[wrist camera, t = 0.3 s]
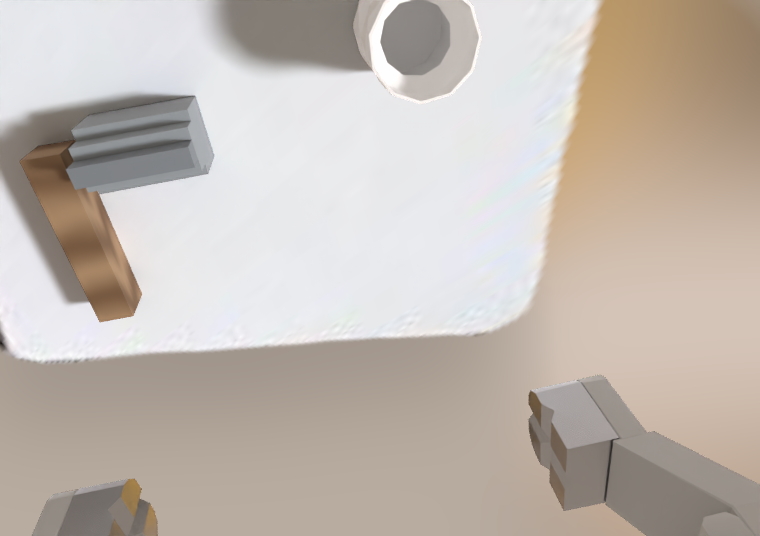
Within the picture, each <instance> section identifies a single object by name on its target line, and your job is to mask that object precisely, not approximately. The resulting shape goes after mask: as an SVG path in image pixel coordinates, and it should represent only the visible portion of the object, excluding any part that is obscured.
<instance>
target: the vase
mask: <svg viewBox="0 0 760 536" xmlns="http://www.w3.org/2000/svg"><path fill="white" fill-rule="evenodd" d="M353 30H354V34H355V37H356V41H357V45H358V49H359V52H360V54H361V56H362V57H363V59H364V60H365V61H366V63H367V64H368V66H369V67H370V68H371V69H372V70H373V71H374V73H375V74H376V76H377V78H378V80H379V81H380V82H381V84H382V85H383V86H384V87H385V88H386V89H387V90H388V91H389V92H390V93H391V94H392V95H393V96H396V97H399V98H402V99H406V100H409V101H412V102H415V103H418V104H424V103H428V102H431V101H434V100H438V99H441V98H444V97H448V96H451V95H452V94H453V93H454V92H455V91H456V90H457V89H458V88H459V86H460V85H461V84H462V83H463V82H464V81H465V80H466V79H467V78H468V77H469V75H470V74H471V73H472V72H473V71H474V68H475V64H476V60H477V55H478V51H479V47H480V43H481V39H482V35H481V32H480V28H479V25H478V21H477V18H476V15H475V11H474V8H473V4H472V3H471V2H469V1H468V0H359V4H358V7H357V11H356V15H355V18H354V22H353Z"/></svg>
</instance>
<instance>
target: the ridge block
mask: <svg viewBox="0 0 760 536" xmlns="http://www.w3.org/2000/svg"><path fill="white" fill-rule="evenodd" d="M71 132H72V134H73V136H74V138H75V141H76V142H75V143H74V144H73V145H72V146H71V147H70V148H69V149H68V150H69V152H70V154H71V156H72V158H73V161H74V162H73V163H72V164H71V165H70V166H69V167H68V168H67V169H66V171H67V173H68V175H69V178H70V180H71V182H72V184H73V186H74V188H75V190H77V189H82V188H86V189H87V191H88V193H89V192H94V191H98V192H99V194H103V193H109V192H114V191H119V190H125V189H130V188H135V187H141V186H146V185H151V184H157V183H162V182H167V181H173V180H178V179H183V178H189V177H194V176H199V175H205V174H208V173H209V170H210V167H211V164H212V161H213V158H214V154H213V150H212V147H211V144H210V141H209V138H208V135H207V131H206V128H205V125H204V122H203V119H202V116H201V112H200V109H199V106H198V103H197V100H196V96H192V97H187V98H181V99H175V100H170V101H164V102H159V103H153V104H148V105H142V106H136V107H131V108H125V109H120V110H114V111H108V112H103V113H97V114H92V115H88V116H87V117H86V118H85V119H84V120H82V121H81V122H80V123H79V124H78V125H77V126H75V127H74V128H73V129H72V130H71Z"/></svg>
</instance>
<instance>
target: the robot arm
mask: <svg viewBox="0 0 760 536" xmlns="http://www.w3.org/2000/svg"><path fill="white" fill-rule="evenodd" d="M529 406H530V408H531V410H532V412H533V414H532V416H531V417H530V418H529V433H530V438H531V442H532V445H533V448H534V451H535V454H536V456H537V458H538V460H539V462H540V464H541V465H543V466H544V467H546V468H548V469H549V470H550V484H551V486H552V488H553V490H554V492H555V494H556V496H557V498H558V500H559V502H560V504H561V506H562V508H563V510H564V511H566V510H571V509H575V508H581V507H585V506H590V505H595V504H600V503H605V502H606V505H607V506H608V507H609V508H611V509H612V510H613V511H615V512H616V513H617V514H618V515H620V516H621V517H623V518H624V519H625V520H626V521H628V522H629V523H630V524H632V525H633V526H634V527H636V528H637V529H638V530H639V531H641V532H642V533H643V534H645V535H646V536H760V484H758V483H756V482H754V481H752V480H750V479H748V478H746V477H744V476H742V475H740V474H738V473H736V472H734V471H732V470H730V469H728V468H726V467H724V466H722V465H720V464H718V463H716V462H714V461H712V460H710V459H708V458H706V457H704V456H702V455H700V454H698V453H696V452H694V451H693V450H690V449H689V448H687V447H684V446H683V445H681V444H678V443H676V442H675V441H673V440H670V439H669V438H667V437H664V436H663V435H661V434H659V433H657V432H655V431H653V432H648V433H647V432H646V430H645V429H644V428H643V427H642V425H641V424H640V423H639V421H638V420H637V419H636V418H635V416H634V415H633V413H632V412H631V411H630V409H629V408H628V407H627V406H626V404H625V403H624V402H623V400H622V399H621V398H620V396H619V395H618V394H617V392H616V391H615V390H614V388H613V387H612V386H611V384H610V383H609V382H608V381H607V379H606V378H605V377H604V376H602V375H597V376H592V377H588V378H583V379H579V380H576V381H575V380H573V381H569V382H565V383H560V384H556V385H552V386H547V387H543V388H539V389H535V390H531V391H530V393H529ZM141 490H142V489H141V487H140V486H139V484H138V483H137V481H136V480H135V479H126V480H121V481H116V482H110V483H105V484H100V485H96V486H90V487H85V488H80V489H76V490H71V491H66V492H61V493H56V494H53V495H52V496H51V498H49V499H48V500H47V502H46V504H45V507H44V509H43V511H42V513H41V516H40V518H39V520H38V523H37V525H36V527H35V529H34V532H33V534H32V536H158V527H157V519H156V515H155V511H154V510H153V508H152V506H151V504H150V503H148V502H146V501H144V500H142V499H140V493H141Z"/></svg>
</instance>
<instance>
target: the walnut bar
mask: <svg viewBox="0 0 760 536" xmlns="http://www.w3.org/2000/svg"><path fill="white" fill-rule="evenodd" d="M75 142H76V141H75V140H72V141H66V142H60V143H54V144H48V145H42V146H37V147H36V148H35V149H34V150H33V151H31V152H30V153H29V154H28V155H26V156H25V157H24V158H23V159H21V160H20V163H21V165H22V167H23V169H24V171H25V173H26V175H27V177H28V179H29V181H30V183H31V185H32V187H33V189H34V191H35V193H36V195H37V197H38V199H39V201H40V203H41V205H42V207H43V209H44V211H45V213H46V215H47V217H48V219H49V221H50V224H51V226H52V228H53V230H54V232H55V234H56V236H57V238H58V240H59V242H60V244H61V246H62V248H63V250H64V252H65V254H66V256H67V258H68V260H69V262H70V264H71V266H72V268H73V270H74V272H75V274H76V276H77V278H78V280H79V282H80V284H81V286H82V288H83V290H84V292H85V294H86V296H87V298H88V300H89V302H90V304H91V306H92V308H93V310H94V312H95V314H96V316H97V318H98V320H99V322H104V321H110V320H115V319H120V318H126V317H131V316H133V315H134V313H135V311H136V308H137V306H138V303H139V301H140V298H141V296H142V293H141V290H140V288H139V286H138V284H137V281H136V279H135V277H134V274H133V272H132V270H131V267H130V265H129V263H128V260H127V258H126V256H125V253H124V251H123V249H122V247H121V244H120V242H119V240H118V237H117V235H116V233H115V230H114V228H113V226H112V223H111V221H110V219H109V217H108V214H107V212H106V210H105V207H104V205H103V203H102V200H101V198H100V196H99V193H98V191H94V192H89V193H88V191H87V189H86V188H82V189H77V190H75V188H74V186H73V184H72V182H71V180H70V178H69V175H68V173H67V171H66V169H67V168H68V167H69V166H70V165H71V164H72V163H73V162H74V161H73V158H72V156H71V154H70V152H69V150H68V149H69V148H70V147H71V146H72V145H73V144H74V143H75Z"/></svg>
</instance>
